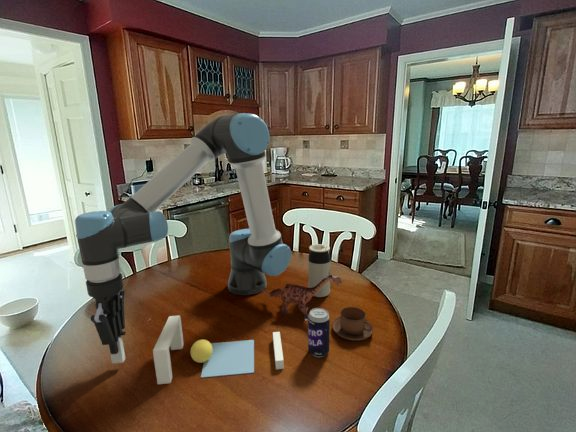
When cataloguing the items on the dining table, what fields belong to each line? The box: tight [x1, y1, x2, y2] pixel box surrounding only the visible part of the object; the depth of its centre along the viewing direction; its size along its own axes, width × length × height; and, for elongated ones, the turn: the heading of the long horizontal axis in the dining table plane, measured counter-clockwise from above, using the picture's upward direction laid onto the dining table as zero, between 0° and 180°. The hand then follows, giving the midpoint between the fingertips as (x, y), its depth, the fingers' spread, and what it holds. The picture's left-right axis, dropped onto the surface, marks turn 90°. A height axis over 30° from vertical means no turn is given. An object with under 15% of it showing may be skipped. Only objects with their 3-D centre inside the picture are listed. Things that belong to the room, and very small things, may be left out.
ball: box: [190, 339, 213, 364], centre depth 82 cm, size 6×6×6 cm
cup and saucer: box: [331, 306, 374, 341], centre depth 93 cm, size 12×12×6 cm
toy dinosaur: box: [261, 274, 343, 321], centre depth 103 cm, size 8×30×15 cm, turn 69°
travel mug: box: [308, 243, 331, 298], centre depth 115 cm, size 8×8×18 cm
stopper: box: [272, 331, 285, 370], centre depth 84 cm, size 2×12×2 cm, turn 6°
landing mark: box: [200, 339, 255, 379], centre depth 83 cm, size 13×13×1 cm
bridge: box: [152, 315, 185, 385], centre depth 81 cm, size 3×15×9 cm, turn 6°
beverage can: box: [307, 307, 331, 358], centre depth 83 cm, size 6×6×12 cm
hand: (118, 360), depth 80 cm, fingers closed
